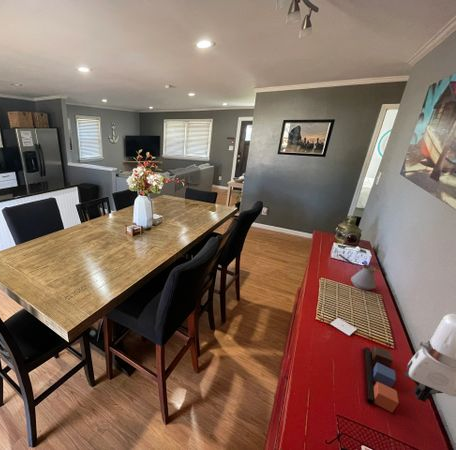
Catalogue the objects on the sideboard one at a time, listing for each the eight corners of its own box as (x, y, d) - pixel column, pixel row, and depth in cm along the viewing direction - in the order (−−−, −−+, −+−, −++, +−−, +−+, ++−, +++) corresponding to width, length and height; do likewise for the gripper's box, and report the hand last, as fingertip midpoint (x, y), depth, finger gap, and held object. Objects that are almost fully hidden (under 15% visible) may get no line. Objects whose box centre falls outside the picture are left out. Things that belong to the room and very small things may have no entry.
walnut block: (385, 360, 96) (390, 351, 94) (388, 370, 92) (393, 360, 90) (369, 354, 98) (374, 345, 96) (371, 363, 94) (376, 354, 92)
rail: (368, 352, 99) (370, 348, 98) (372, 405, 80) (374, 401, 79) (363, 350, 100) (365, 346, 99) (366, 402, 80) (369, 398, 80)
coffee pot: (375, 286, 141) (385, 265, 135) (372, 294, 134) (382, 272, 128) (333, 271, 155) (340, 250, 150) (328, 277, 148) (335, 256, 142)
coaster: (357, 328, 110) (357, 327, 110) (349, 335, 106) (349, 334, 106) (338, 317, 117) (338, 316, 116) (329, 323, 113) (330, 322, 112)
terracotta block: (390, 400, 81) (396, 390, 79) (392, 412, 78) (398, 403, 76) (371, 390, 84) (377, 381, 82) (372, 402, 80) (378, 393, 78)
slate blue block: (389, 379, 88) (395, 370, 86) (389, 390, 84) (395, 380, 83) (371, 371, 91) (377, 362, 89) (371, 380, 87) (376, 371, 86)
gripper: (411, 349, 70) (389, 391, 76) (493, 380, 61) (459, 424, 68) (407, 333, 75) (386, 374, 82) (481, 359, 67) (451, 402, 74)
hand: (419, 396), depth 75 cm, fingers closed
